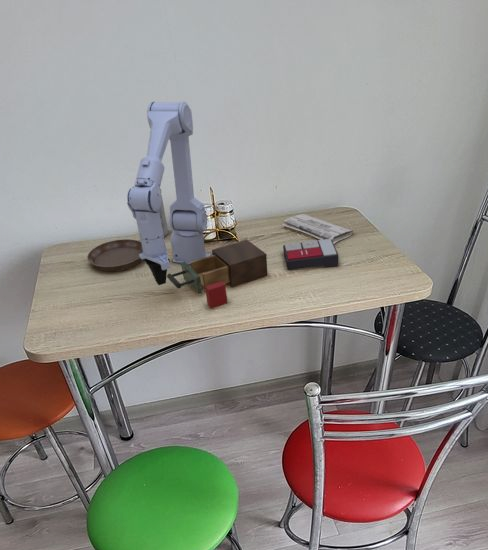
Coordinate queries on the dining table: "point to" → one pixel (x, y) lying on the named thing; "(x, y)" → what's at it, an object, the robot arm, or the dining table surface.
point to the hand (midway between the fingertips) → (161, 283)
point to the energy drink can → (163, 219)
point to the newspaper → (317, 228)
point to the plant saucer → (116, 255)
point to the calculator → (310, 254)
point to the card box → (216, 294)
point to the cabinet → (243, 262)
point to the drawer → (202, 273)
